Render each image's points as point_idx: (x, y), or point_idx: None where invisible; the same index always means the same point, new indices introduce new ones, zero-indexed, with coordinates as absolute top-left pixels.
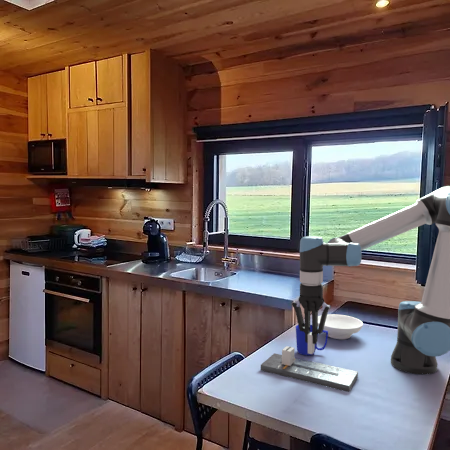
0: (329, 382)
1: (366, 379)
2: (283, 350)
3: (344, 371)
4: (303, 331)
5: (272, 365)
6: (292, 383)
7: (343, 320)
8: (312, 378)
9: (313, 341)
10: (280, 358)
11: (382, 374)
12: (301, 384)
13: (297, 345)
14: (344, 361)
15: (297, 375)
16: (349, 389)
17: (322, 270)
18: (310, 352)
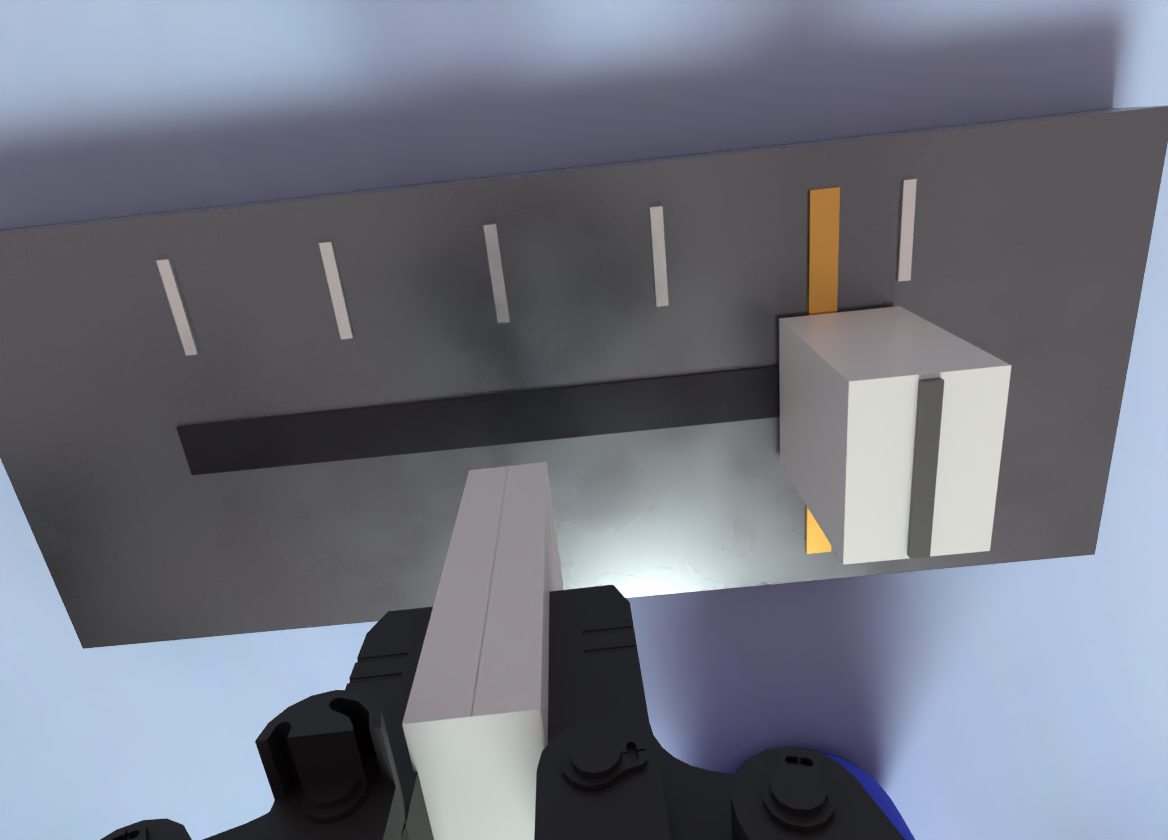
0: (166, 215)
1: (39, 615)
2: (980, 367)
3: (185, 570)
4: (709, 777)
5: (1002, 193)
6: (597, 12)
7: None
8: (389, 190)
9: (423, 639)
10: None
11: (5, 780)
12: (491, 63)
13: (899, 828)
14: None
15: (597, 166)
16: None
17: None
18: (494, 477)
